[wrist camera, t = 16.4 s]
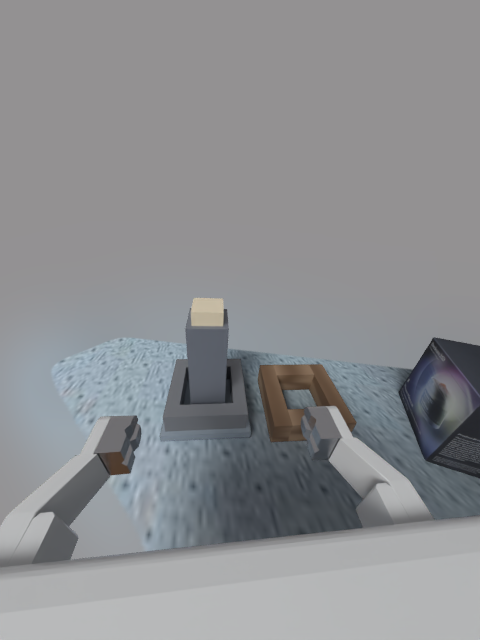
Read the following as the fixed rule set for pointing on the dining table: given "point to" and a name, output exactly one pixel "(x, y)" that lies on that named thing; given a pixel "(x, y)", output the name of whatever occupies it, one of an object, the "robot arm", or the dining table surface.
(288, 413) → the frame
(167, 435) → the dock
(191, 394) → the plug
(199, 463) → the dining table surface
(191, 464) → the dining table surface
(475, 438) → the small box
